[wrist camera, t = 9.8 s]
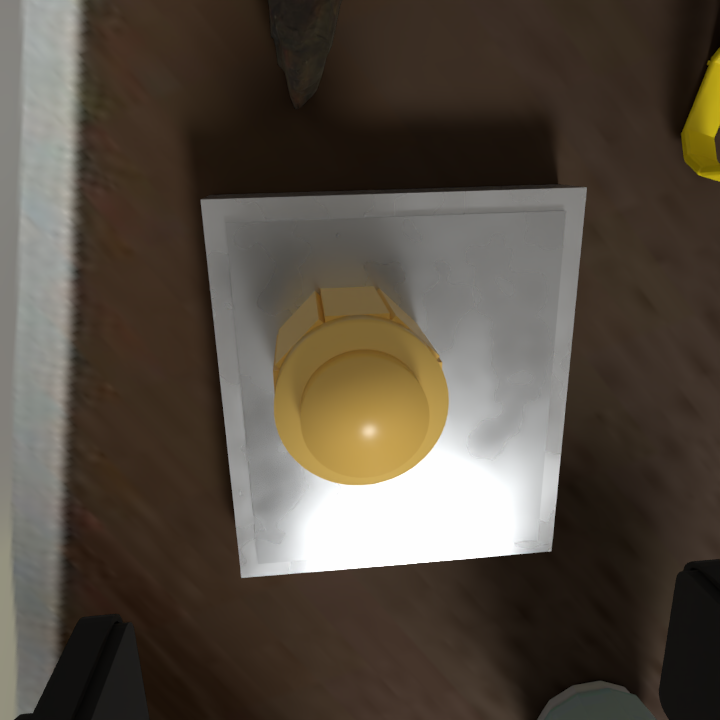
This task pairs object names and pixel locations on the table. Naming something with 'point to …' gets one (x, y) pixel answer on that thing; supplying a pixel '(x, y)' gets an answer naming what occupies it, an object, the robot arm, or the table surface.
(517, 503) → the plate
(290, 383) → the wire nut
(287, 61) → the dark brown wood branch
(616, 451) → the table surface
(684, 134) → the watch
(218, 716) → the table surface
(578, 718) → the disposable coffee cup
